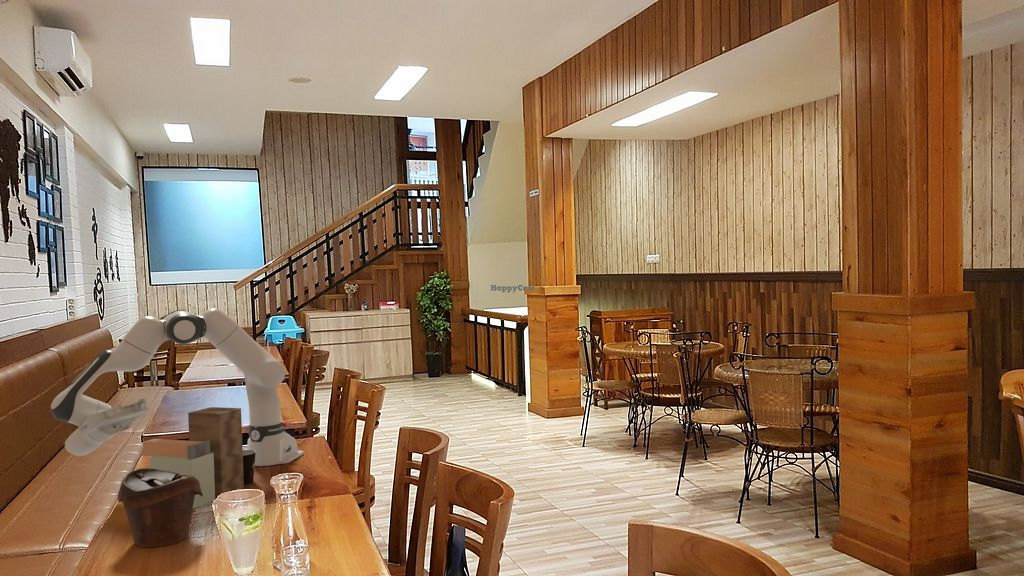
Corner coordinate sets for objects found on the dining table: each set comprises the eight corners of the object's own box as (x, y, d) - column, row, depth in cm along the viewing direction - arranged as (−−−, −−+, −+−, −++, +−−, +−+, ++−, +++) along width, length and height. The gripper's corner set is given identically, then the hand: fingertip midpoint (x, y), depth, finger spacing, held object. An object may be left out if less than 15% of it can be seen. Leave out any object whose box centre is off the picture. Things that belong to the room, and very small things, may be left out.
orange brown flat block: (158, 450, 228) (158, 437, 228) (210, 453, 221) (209, 440, 221) (138, 456, 220) (137, 443, 220) (190, 459, 214) (190, 446, 214)
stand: (213, 486, 237) (210, 407, 237) (243, 488, 233) (241, 408, 233) (191, 495, 228) (188, 412, 227) (222, 497, 224) (219, 414, 224)
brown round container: (199, 545, 183) (197, 474, 183) (111, 557, 177) (108, 483, 177) (208, 524, 200) (205, 459, 200) (128, 534, 194) (125, 467, 194)
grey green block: (173, 496, 227) (172, 450, 227) (215, 499, 222) (213, 452, 221) (150, 505, 218) (149, 457, 218) (193, 509, 213) (191, 460, 213)
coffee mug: (247, 486, 235) (246, 456, 235) (223, 486, 237) (222, 455, 237) (266, 477, 246) (265, 447, 246) (243, 476, 248) (242, 447, 248)
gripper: (71, 423, 223) (99, 401, 219) (125, 409, 243) (152, 389, 238) (80, 441, 222) (108, 419, 218) (134, 426, 242) (161, 405, 238)
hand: (132, 403), depth 229 cm, fingers open, 8 cm apart
